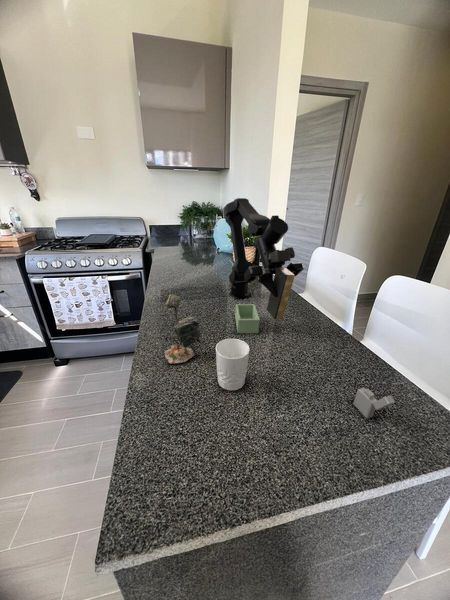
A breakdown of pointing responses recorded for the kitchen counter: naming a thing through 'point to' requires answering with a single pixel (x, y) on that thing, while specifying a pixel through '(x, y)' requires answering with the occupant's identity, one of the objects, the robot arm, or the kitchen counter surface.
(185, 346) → the plant with pod
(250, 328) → the holder
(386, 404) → the grey angled bracket
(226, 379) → the white cup
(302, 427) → the kitchen counter surface
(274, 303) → the eraser
